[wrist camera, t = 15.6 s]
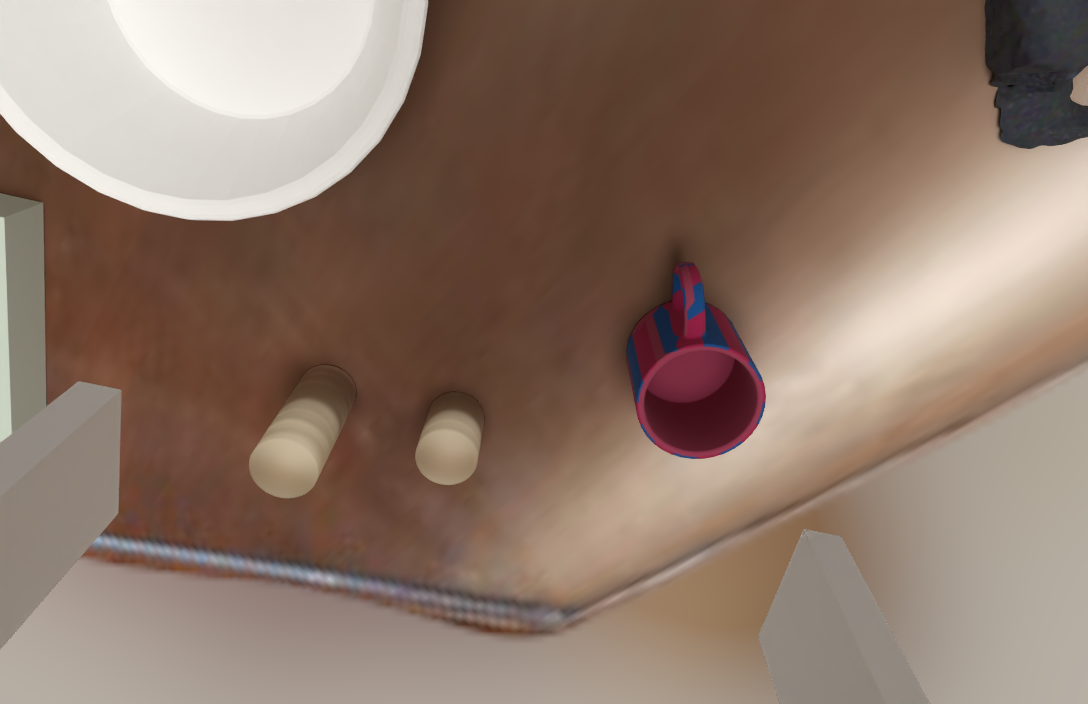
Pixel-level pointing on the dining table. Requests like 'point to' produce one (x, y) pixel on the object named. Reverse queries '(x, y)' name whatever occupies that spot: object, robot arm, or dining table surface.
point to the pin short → (450, 438)
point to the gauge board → (21, 312)
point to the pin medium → (303, 433)
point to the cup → (693, 374)
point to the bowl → (207, 95)
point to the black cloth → (1037, 68)
